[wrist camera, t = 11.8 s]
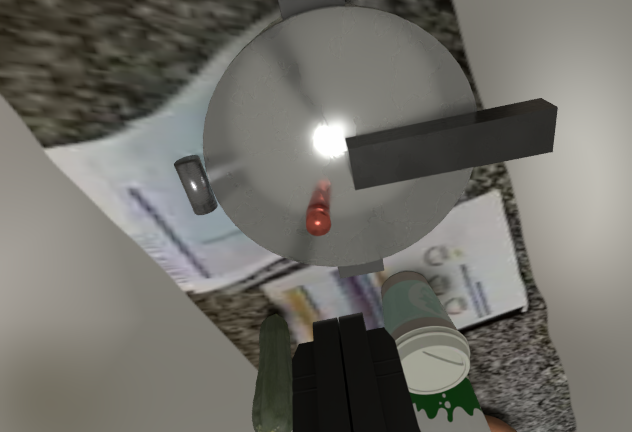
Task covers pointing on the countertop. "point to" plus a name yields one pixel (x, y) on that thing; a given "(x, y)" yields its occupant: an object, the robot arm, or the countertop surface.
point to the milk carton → (450, 410)
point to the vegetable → (273, 378)
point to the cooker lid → (349, 137)
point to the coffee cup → (423, 335)
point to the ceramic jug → (498, 425)
